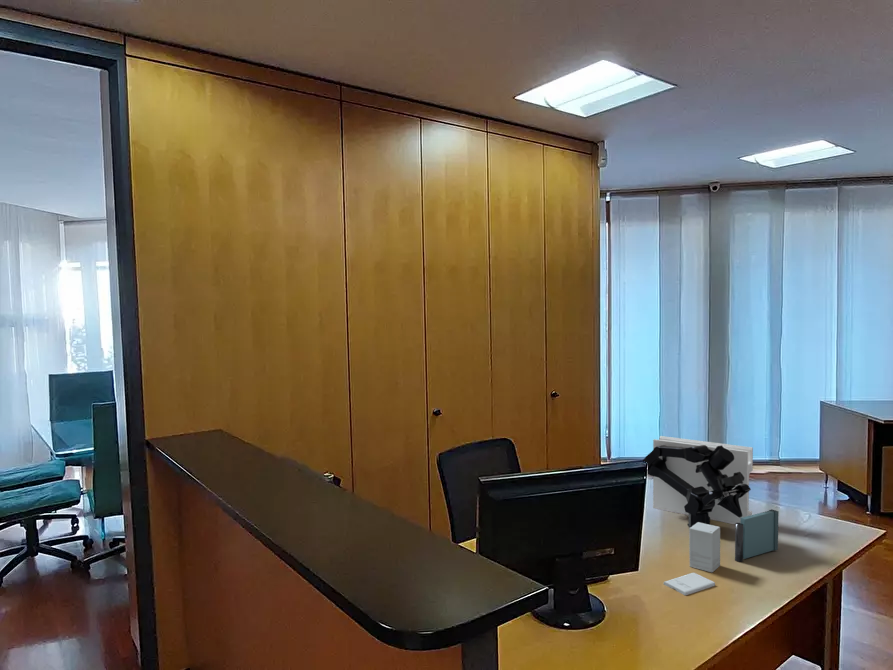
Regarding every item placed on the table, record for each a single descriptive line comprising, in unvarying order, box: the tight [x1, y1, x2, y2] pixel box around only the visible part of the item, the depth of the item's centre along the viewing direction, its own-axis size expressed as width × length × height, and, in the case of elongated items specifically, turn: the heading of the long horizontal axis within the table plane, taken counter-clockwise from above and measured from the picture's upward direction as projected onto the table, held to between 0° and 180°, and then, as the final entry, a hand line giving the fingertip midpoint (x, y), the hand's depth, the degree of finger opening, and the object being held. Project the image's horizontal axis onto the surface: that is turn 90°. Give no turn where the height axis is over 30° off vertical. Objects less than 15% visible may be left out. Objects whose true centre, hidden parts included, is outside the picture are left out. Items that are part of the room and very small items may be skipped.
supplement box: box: [688, 522, 721, 573], centre depth 201 cm, size 7×7×13 cm
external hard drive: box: [663, 572, 716, 596], centre depth 189 cm, size 2×8×12 cm
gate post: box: [734, 523, 744, 563], centre depth 205 cm, size 2×2×12 cm
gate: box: [740, 508, 779, 560], centre depth 209 cm, size 16×2×13 cm, turn 117°
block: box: [652, 435, 754, 525], centre depth 248 cm, size 35×8×28 cm, turn 51°
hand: (740, 516), depth 217 cm, fingers closed
